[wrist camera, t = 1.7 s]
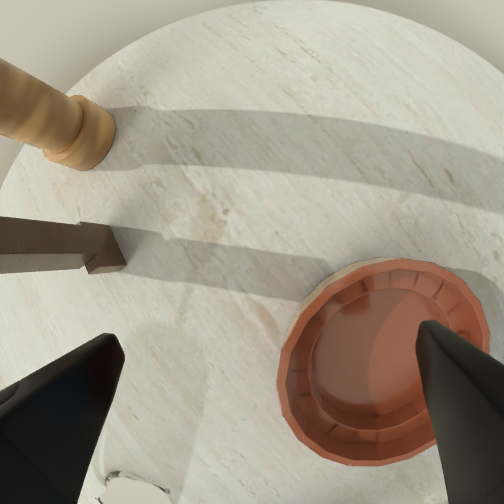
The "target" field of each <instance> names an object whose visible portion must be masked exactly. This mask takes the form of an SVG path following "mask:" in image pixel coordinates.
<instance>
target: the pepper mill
mask: <svg viewBox="0 0 504 504" xmlns="http://www.w3.org/2000/svg"><path fill="white" fill-rule="evenodd" d="M0 135H2V136H5V137H8V138H11V139H14V140H17V141H19V142H22V143H25V144H28V145H31V146H34V147H37V148H39V149H42V150H43V153H44V155H45V157H46V158H47V159H48V160H50V161H52V162H55V163H58V164H61V165H64V166H68V167H71V168H74V169H77V170H80V171H84V170H88V169H91V168H93V167H95V166H96V165H97V164H98V163H100V162H101V161H102V159H103V158H104V157H105V156H106V154H107V153H108V151H109V149H110V147H111V145H112V142H113V139H114V135H115V123H114V119H113V117H112V116H111V114H110V113H109V112H107V111H106V110H104V109H102V108H101V107H99V106H98V105H96V104H95V103H93V102H92V101H90V100H88V99H87V98H85V97H84V96H81V95H74V96H71V97H68V96H66V95H65V94H63V93H61V92H60V91H58V90H56V89H54V88H53V87H51V86H49V85H47V84H45V83H44V82H42V81H40V80H39V79H37V78H35V77H33V76H32V75H30V74H28V73H26V72H25V71H23V70H21V69H19V68H17V67H16V66H14V65H12V64H10V63H8V62H6V61H5V60H3V59H1V58H0Z"/></svg>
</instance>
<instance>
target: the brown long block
mask: <svg viewBox="0 0 504 504" xmlns="http://www.w3.org/2000/svg"><path fill="white" fill-rule="evenodd" d="M84 265H85V267H86V269H87V272H88V274H98V273H109V272H118V271H119V270H121V269H122V268H124V267H125V266H126V265H127V264H126V262H125V260H124V258H123V256H122V253H121V251H120V249H119V247H118V245H117V242H116V240H115V238H114V235H113V233H112V231H111V228H110V226H109V225H104V224H96V223H88V222H79V223H78V224H77V225H74V224H65V223H56V222H47V221H38V220H29V219H20V218H11V217H1V216H0V274H5V273H21V272H36V271H52V270H67V269H80V268H81V267H82V266H84Z"/></svg>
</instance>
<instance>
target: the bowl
mask: <svg viewBox="0 0 504 504" xmlns="http://www.w3.org/2000/svg"><path fill="white" fill-rule="evenodd" d="M431 319H434V320H437V321H438V322H440V323H441V324H443V325H444V326H446V327H447V328H449V329H451V330H452V331H454V332H455V333H457V334H458V335H460V336H461V337H463V338H464V339H466V340H467V341H469V342H470V343H472V344H474V345H475V346H477V347H478V348H480V349H481V350H483V351H484V352H486V353H487V354H489V341H490V332H489V328H488V325H487V322H486V318H485V315H484V312H483V309H482V306H481V303H480V301H479V300H478V299H477V297H476V296H475V295H474V294H473V292H472V291H471V290H470V288H469V287H468V286H467V285H466V283H465V282H464V281H463V280H462V279H461V278H460V277H458V276H457V275H455V274H453V273H451V272H450V271H448V270H446V269H444V268H442V267H441V266H439V265H437V264H435V263H433V262H425V261H418V260H410V259H403V258H389V257H380V258H375V259H370V260H365V261H361V262H356V263H352V264H350V265H348V266H346V267H344V268H343V269H341V270H339V271H337V272H336V273H334V274H332V275H330V276H329V277H327V278H325V279H324V280H322V281H321V283H320V284H319V285H318V286H317V287H316V288H315V289H314V290H313V291H312V292H311V293H310V294H309V295H308V296H307V297H306V298H305V299H304V300H303V301H302V303H301V304H300V306H299V308H298V310H297V312H296V314H295V316H294V318H293V320H292V322H291V324H290V326H289V328H288V330H287V333H286V336H285V340H284V343H283V347H282V350H281V356H280V362H279V369H278V375H277V381H276V383H277V384H276V386H277V391H278V396H279V401H280V406H281V411H282V415H283V417H284V418H285V420H286V421H287V423H288V425H289V426H290V428H291V429H292V431H293V433H294V434H295V436H296V437H297V439H298V440H299V441H301V442H302V443H303V444H305V445H306V446H307V447H309V448H310V449H311V450H313V451H314V452H315V453H317V454H318V455H319V456H321V457H323V458H326V459H329V460H332V461H335V462H338V463H341V464H345V465H348V466H383V465H387V464H391V463H395V462H399V461H403V460H406V459H409V458H412V457H413V456H415V455H417V454H419V453H421V452H423V451H425V450H426V449H428V448H430V447H432V446H433V445H435V444H437V443H436V438H435V434H434V431H433V427H432V423H431V419H430V416H429V412H428V409H427V405H426V401H425V398H424V393H423V387H422V382H421V376H420V371H419V366H418V361H417V357H416V352H415V344H416V339H417V334H418V329H419V325H420V323H421V322H422V321H425V320H431Z"/></svg>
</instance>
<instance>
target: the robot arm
mask: <svg viewBox="0 0 504 504" xmlns="http://www.w3.org/2000/svg"><path fill="white" fill-rule="evenodd" d="M415 352H416V357H417V361H418V366H419V371H420V376H421V382H422V387H423V393H424V398H425V401H426V405H427V409H428V412H429V416H430V419H431V423H432V427H433V431H434V434H435V438H436V443H437V447H438V451H439V455H440V460H441V464H442V469H443V474H444V479H445V484H446V490H447V496H448V502H449V504H504V365H503V364H502V363H500V362H499V361H497V360H496V359H494V358H493V357H491V356H490V355H489V354H487V353H486V352H484V351H483V350H481V349H480V348H478V347H477V346H475V345H474V344H472V343H470V342H469V341H467V340H466V339H464V338H463V337H461V336H460V335H458V334H457V333H455V332H454V331H452V330H451V329H449V328H447V327H446V326H444V325H443V324H441V323H440V322H438V321H437V320H434V319H431V320H425V321H422V322H421V323H420V325H419V329H418V334H417V339H416V344H415ZM124 361H125V354H124V351H123V349H122V347H121V345H120V343H119V341H118V339H117V337H116V336H115V335H114V334H110V333H103V334H101V335H99V336H97V337H95V338H94V339H92V340H90V341H88V342H87V343H85V344H83V345H81V346H79V347H78V348H76V349H74V350H72V351H71V352H69V353H67V354H65V355H64V356H62V357H60V358H58V359H56V360H55V361H53V362H51V363H49V364H48V365H46V366H44V367H42V368H41V369H39V370H37V371H35V372H33V373H32V374H30V375H28V376H26V377H25V378H23V379H21V381H17V382H16V383H14V384H12V385H10V386H9V387H7V388H5V389H3V390H1V391H0V504H77V503H78V499H79V495H80V492H81V489H82V486H83V483H84V480H85V476H86V473H87V470H88V467H89V464H90V461H91V459H92V456H93V453H94V450H95V447H96V444H97V441H98V439H99V436H100V433H101V430H102V428H103V425H104V422H105V420H106V417H107V414H108V412H109V409H110V407H111V404H112V401H113V399H114V395H115V392H116V388H117V385H118V381H119V378H120V374H121V371H122V368H123V364H124Z"/></svg>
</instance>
